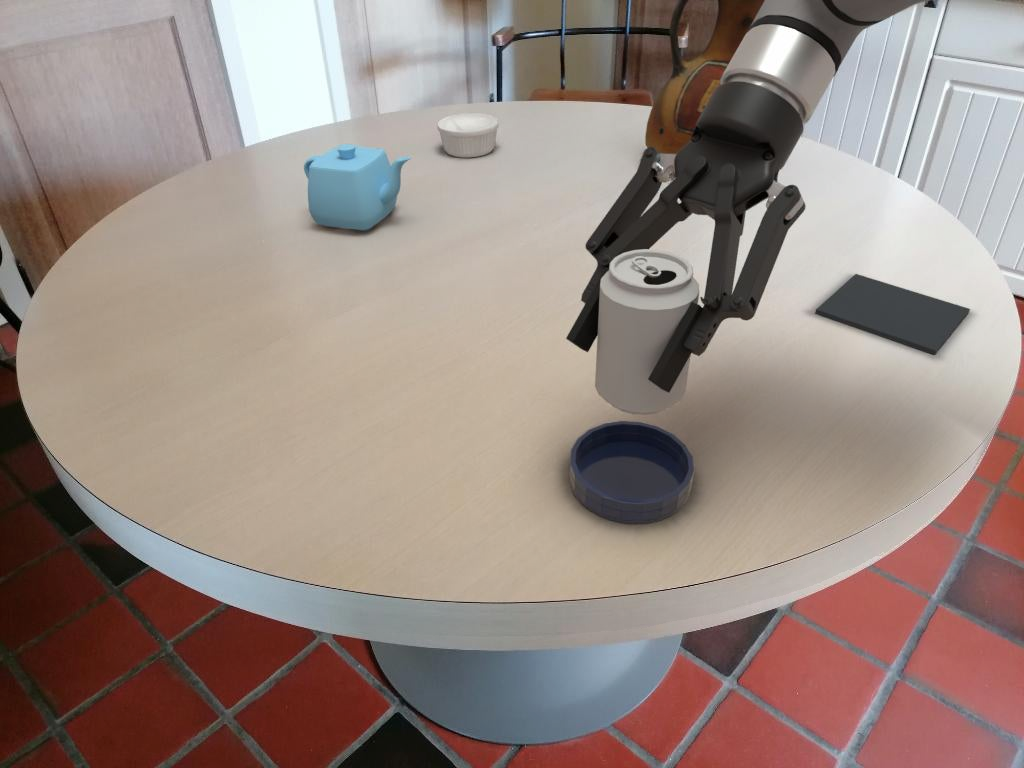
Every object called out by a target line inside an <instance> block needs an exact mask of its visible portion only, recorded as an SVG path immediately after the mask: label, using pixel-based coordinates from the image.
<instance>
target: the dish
mask: <svg viewBox="0 0 1024 768" xmlns="http://www.w3.org/2000/svg"><path fill="white" fill-rule="evenodd" d="M694 475H695V463H694V456H693V455H692V453H691V451H690V450H689V448H688V446H687V445H686V444H685V443H684V442H683V441H682V440H681V439H680V438H679V437H677V436H676V435H675V434H673V433H672V432H670V431H668V430H665V429H664V428H663V427H662V428H661V427H660V426H657V425H654V424H651V423H650V424H649V423H646V422H642V421H632V420H631V421H629V420H618V421H611V422H605V423H602V424H599V425H597V426H595V427H591V428H589V429H588V430H586V431H585V432H584V433H583V434H581V435H580V436H579V437H577V439H576V440H575V442H574V444H573V446H572V448H571V449H570V457H569V484H570V487H571V490H572V492H573V495H574V496H575V497H576V499H577V500H578V501H579V502H580V503H581V505H583V506H584V507H585V508H586V509H588V510H589V511H590V512H592V513H593V514H595V515H597V516H599V517H601V518H603V519H607V520H610V521H613V522H617V523H622V524H631V525H634V524H635V525H642V524H650V523H656V522H659V521H662V520H665V519H667V518H669V517H671V516H672V515H674V514H676V513H677V512H679V511H680V510H681V509H682V508H683V506H684V505H686V503H687V501H688V499H689V496H690V494H691V490H692V487H693V480H694Z"/></svg>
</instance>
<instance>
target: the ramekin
mask: <svg viewBox="0 0 1024 768" xmlns="http://www.w3.org/2000/svg"><path fill="white" fill-rule="evenodd" d="M498 129H499V120H498V119H497V118H496V117H495V116H493V115H490V114H485V113H476V112H475V113H473V112H471V113H470V112H469V113H468V112H467V113H458V114H453V115H452V114H451V115H449V116H446V117H444V118H442V119H440V120H439V121H438V122H437V131H438V132H439V135H440V140H441V143H442V148H443V150H444V151H445V152H446V153H447V154H448V155H450V156H452V157H456V158H464V159H465V158H467V159H468V158H477V157H482V156H486V155H488V154H490V153H491V152H492V151H493V150H494V148H495V145H496V139H497V132H498Z"/></svg>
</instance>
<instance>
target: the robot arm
mask: <svg viewBox="0 0 1024 768" xmlns="http://www.w3.org/2000/svg"><path fill="white" fill-rule="evenodd" d="M927 1H931V0H765V1H764V3H763V4H762V6H761V8H760V10H759V12H758V14H757V15H756V17H755V19H754V21H753V23H752V25H751V26H750V29H749V30H748V32H747V33H746V35H745V36H744V38H743V40H742V42H741V43H740V45H739V47H738V49H737V50H736V52H735V54H734V56H733V57H732V59H731V61H730V63H729V64H728V66H727V68H726V70H725V71H724V73H723V75H722V77H721V85H720V86H718V87H717V88H716V89H715V90H714V92H713V94H712V95H711V97H710V99H709V101H708V103H707V104H706V106H705V108H704V110H703V112H702V113H701V115H700V117H699V119H698V121H697V123H696V125H695V129H694V132H693V135H692V138H691V140H690V141H689V142H688V144H687V145H686V146H684V147H683V148H682V149H681V150H679V151H678V153H677V154H664V153H659V152H658V151H657V149H656V148H655V147H649V148H647V147H646V148H645V149H644V151H643V153H642V155H641V158H640V161H639V164H638V166H637V170H636V172H635V174H634V175H633V176H632V178H631V179H630V180H629V182H627V183H628V184H627V185H626V186H625V187H624V189H623V191H622V192H621V193H620V195H619V196H618V197H617V199H616V200H615V202H614V203H613V204H612V206H611V207H610V208H609V210H608V211H607V213H606V214H605V216H604V217H603V219H602V220H601V221H600V222H599V223H598V226H597V227H596V228H595V230H594V231H593V232H592V234H591V235H590V237H589V238H588V239H587V240H586V243H585V245H584V247H585V250H586V251H587V252H588V253H589V254H590V255H591V256H592V257H593V258H594V259H595V260H596V263H597V264H596V265H597V266H596V268H595V270H594V272H593V274H592V275H591V277H590V278H589V281H588V283H587V285H586V286H585V288H584V289H583V292H582V294H581V298H580V301H581V302H582V303H583V304H584V305H583V307H582V309H581V310H580V313H579V314H578V316H577V318H576V320H575V322H574V323H573V325H572V326H571V328H570V331H569V332H568V334H567V336H566V338H565V339H566V340H567V341H569V342H570V343H572V344H573V345H575V346H576V347H577V348H578V349H580V350H582V351H584V352H586V353H589V352H590V349H591V348H592V346H593V344H594V343H595V340H596V339H597V337H598V317H599V297H600V283H601V278H602V277H603V276H604V275H605V274H606V272H608V271H609V267H610V262H611V261H612V260H613V259H614V258H615V257H617V256H619V255H621V254H622V253H625V252H629V251H633V250H642V249H651V248H652V247H653V246H654V245H655V244H656V243H657V242H658V241H659V240H660V239H661V238H663V237H664V236H665V235H666V234H667V233H668V232H669V231H670V230H671V229H672V228H673V227H674V226H675V225H676V224H678V223H681V222H684V221H686V220H687V219H688V218H690V216H691V215H692V214H694V215H697V216H707V217H709V218H711V219H712V220H714V227H713V228H714V230H713V235H712V242H711V249H710V256H709V263H708V269H707V276H706V282H705V290H704V295H703V296H699V299H700V302H701V303H702V304H703V306H701V304H699V303H698V304H696V303H693V302H691V304H690V306H689V308H688V309H687V311H686V313H685V315H684V316H683V317H682V319H681V321H680V323H679V325H678V326H677V328H676V330H675V332H674V334H673V335H672V337H671V339H670V341H669V342H668V344H667V346H666V348H665V350H664V351H663V353H662V355H661V357H660V358H659V360H658V362H657V364H656V366H655V367H654V369H653V371H652V373H651V375H650V376H649V378H648V380H650V381H651V382H652V383H654V384H655V385H656V386H658V387H659V388H660V389H662V390H664V391H666V392H668V393H669V392H670V391H671V389H672V387H673V385H674V384H675V382H676V380H677V378H678V376H679V375H680V373H681V371H682V369H683V367H684V366H685V364H686V362H687V360H688V359H689V357H690V358H691V356H690V355H692V354H693V355H695V356H696V357H697V356H698V357H700V356H701V355H703V354H704V353H705V352H706V350H707V348H708V347H709V344H711V341H712V340H713V338H714V336H715V334H716V332H717V331H718V329H719V327H720V325H721V324H722V322H724V321H725V320H727V319H741V320H742V321H750V320H752V318H754V317H755V315H756V313H757V310H758V307H759V305H760V302H761V300H762V297H763V296H764V295H763V294H764V292H765V290H766V288H767V285H768V282H769V280H770V277H771V274H772V272H773V270H774V267H775V264H776V262H777V260H778V257H779V255H780V252H781V249H782V247H783V245H784V242H785V240H786V238H787V237H786V236H787V234H788V231H789V230H790V228H792V226H793V225H794V224H795V223H796V221H798V219H799V218H800V216H801V215H802V214H803V213H804V212H805V210H806V206H807V205H806V203H805V201H804V198H803V196H802V194H801V191H800V190H799V187H798V186H797V185H795V184H789V185H784V184H783V183H780V182H778V177H779V173H780V171H781V170H782V169H783V168H784V167H785V165H786V163H787V162H788V160H789V158H790V157H791V155H792V152H793V151H794V149H795V147H796V146H797V143H798V142H799V141H800V139H801V137H802V135H803V133H804V125H806V124H807V123H808V122H809V121H810V120H811V118H812V116H813V115H814V113H815V111H816V109H817V107H818V106H819V104H820V102H821V100H822V98H823V97H824V95H825V93H826V91H827V90H828V87H829V86H830V84H831V82H832V80H833V79H834V77H835V76H836V75H837V72H839V68H840V66H841V65H842V63H843V61H844V60H845V58H846V56H847V54H848V53H849V51H850V49H851V48H852V46H853V45H854V42H855V41H856V39H857V38H858V36H859V35H860V34H861V33H862V32H863V31H864V30H866V29H868V28H870V27H872V26H874V25H876V24H879V23H881V22H884V21H885V20H888V19H889V18H891V17H892V16H895V15H897V14H898V13H901V12H903V11H904V10H907V9H908V8H911V7H912V6H913V7H914V6H915V5H918V4H920V3H924V2H927ZM672 173H674V174H675V178H674V179H673V180H672V181H671V182H670V183H668V181H669V180H670V178H669V176H670V175H671V174H672ZM663 183H668V185H666V187H665V188H663V189H662V190H661V192H660V193H659V195H658V199H657V200H656V201H655V202H654V203H653V204H652V205H651V206H650V204H651V203H652V202H653V200H654V198H655V197H656V195H657V194H658V192H659V191H660V189H661V187H662V185H663ZM678 199H679V201H680V202H678ZM765 200H766V202H765V208H766V210H765V211H764V214H763V216H762V218H761V221H760V223H759V226H758V229H757V231H756V233H755V236H754V238H753V241H752V243H751V246H750V248H749V250H748V253H747V255H746V258H745V261H744V263H743V266H742V268H741V271H740V273H739V276H738V279H737V280H736V283H735V286H734V281H735V275H736V268H737V262H738V254H739V247H740V241H741V237H742V236H743V233H744V228H745V222H746V221H745V220H746V219H745V218H746V212H747V211H748V210H749V211H750V209H753V207H756V206H757V205H758V204H760V203H763V201H765ZM648 207H649V208H648ZM647 208H648V209H647Z"/></svg>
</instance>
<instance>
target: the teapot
mask: <svg viewBox="0 0 1024 768" xmlns="http://www.w3.org/2000/svg"><path fill="white" fill-rule="evenodd" d="M411 159H412V158H411V157H409V156H407V157H397V158H396V159H394V160H393V162H392V163H390V160H389V158H388V155H387V153H386V151H385V149H383V148H375V147H368V146H367V147H366V146H356V145H355V144H352V143H343V144H339V145H338V146H335V147H333V148H331V149H329V150H327V151H326V152H324V153H323V154H321V155H318V154H316V155H312V156H310V157H308V158H307V160H305V162H304V164H303V169H304V170H303V171H304V174H305V177H306V178H307V203H308V211H309V213H310V217H311V218H312V219H313V222H314V223H315V224H316V225H319V226H325V227H330V228H339V229H347V230H358V231H363V232H365V231H369V230H371V229H373V227H374V226H376V225H377V224H378V223H380V222H382V221H383V220H384V219H385V218H387V216H388V215H389V214H391V212H392V211H393V209H394V207H396V204H397V199H398V195H399V193H400V191H401V184H402V182H401V181H402V178H401V173H402V168H403V166H404V165H405V163H407V162H408V161H410V160H411Z"/></svg>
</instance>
